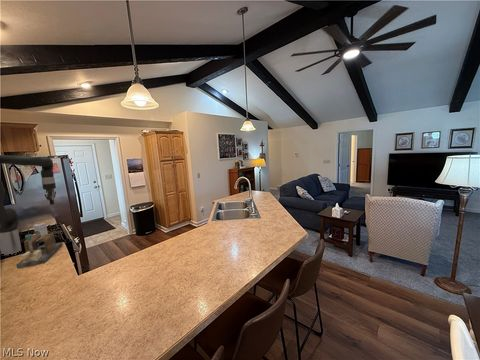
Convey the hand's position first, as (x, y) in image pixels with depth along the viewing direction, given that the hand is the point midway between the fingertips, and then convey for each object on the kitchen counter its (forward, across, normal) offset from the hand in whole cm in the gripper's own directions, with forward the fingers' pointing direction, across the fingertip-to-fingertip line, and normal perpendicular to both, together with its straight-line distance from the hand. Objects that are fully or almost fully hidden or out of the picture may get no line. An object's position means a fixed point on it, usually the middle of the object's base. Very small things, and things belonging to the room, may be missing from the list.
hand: (52, 204), depth 159 cm
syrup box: (+33, -14, -16) cm, 39 cm away
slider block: (+30, +31, -2) cm, 43 cm away
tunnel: (+33, +20, -2) cm, 39 cm away
